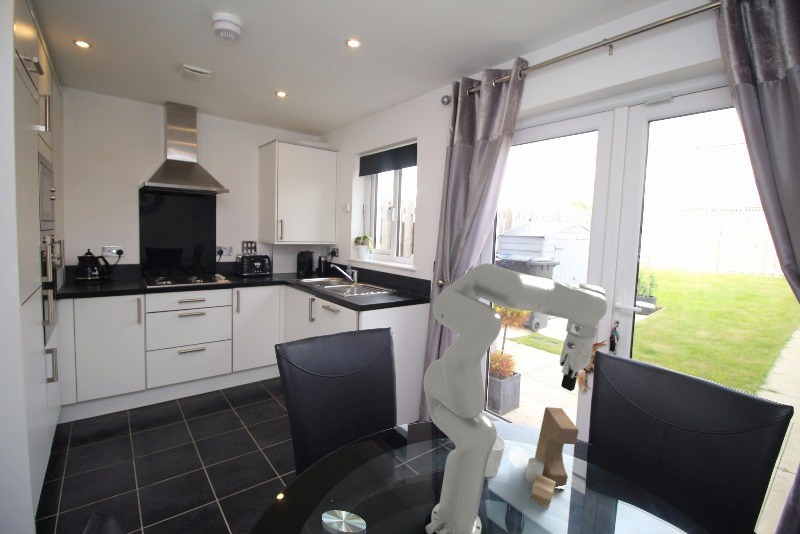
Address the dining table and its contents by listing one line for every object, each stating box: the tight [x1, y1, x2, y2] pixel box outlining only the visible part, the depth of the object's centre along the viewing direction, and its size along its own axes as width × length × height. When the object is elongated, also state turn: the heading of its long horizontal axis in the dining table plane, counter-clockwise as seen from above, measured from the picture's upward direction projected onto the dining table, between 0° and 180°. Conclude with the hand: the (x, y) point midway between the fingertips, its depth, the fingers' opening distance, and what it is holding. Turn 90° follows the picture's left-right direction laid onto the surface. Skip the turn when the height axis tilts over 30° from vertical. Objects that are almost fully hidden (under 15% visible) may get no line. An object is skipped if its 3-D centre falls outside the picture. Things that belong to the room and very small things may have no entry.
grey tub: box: [524, 457, 544, 486], centre depth 116 cm, size 4×4×6 cm
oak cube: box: [530, 474, 556, 508], centre depth 110 cm, size 5×5×5 cm
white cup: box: [484, 434, 506, 478], centre depth 118 cm, size 8×8×10 cm
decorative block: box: [534, 406, 580, 487], centre depth 117 cm, size 11×6×20 cm, turn 1°
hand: (567, 388), depth 113 cm, fingers closed
